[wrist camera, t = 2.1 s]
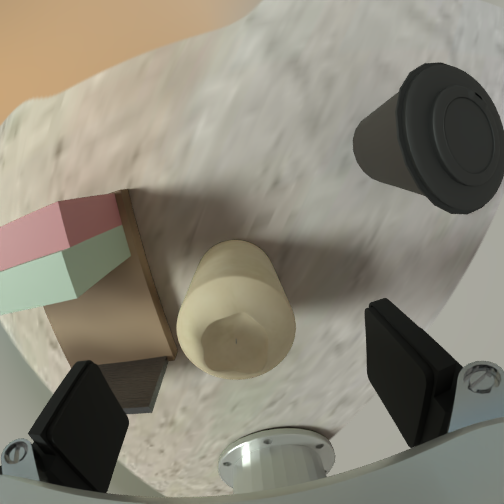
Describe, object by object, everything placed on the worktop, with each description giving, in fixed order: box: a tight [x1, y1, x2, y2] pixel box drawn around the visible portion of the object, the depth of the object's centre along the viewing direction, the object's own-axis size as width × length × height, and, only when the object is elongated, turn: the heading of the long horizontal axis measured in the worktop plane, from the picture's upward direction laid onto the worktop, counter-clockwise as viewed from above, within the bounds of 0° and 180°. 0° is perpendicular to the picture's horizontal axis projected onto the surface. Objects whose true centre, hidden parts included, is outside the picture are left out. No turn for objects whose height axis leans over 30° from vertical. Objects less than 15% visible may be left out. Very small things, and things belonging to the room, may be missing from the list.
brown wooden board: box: [43, 189, 178, 368], centre depth 21 cm, size 13×10×2 cm
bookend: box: [98, 356, 169, 414], centre depth 19 cm, size 1×9×6 cm, turn 103°
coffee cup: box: [353, 63, 504, 214], centre depth 15 cm, size 8×8×10 cm
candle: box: [177, 240, 296, 380], centre depth 17 cm, size 6×6×10 cm
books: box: [0, 193, 131, 315], centre depth 15 cm, size 4×9×8 cm, turn 103°
